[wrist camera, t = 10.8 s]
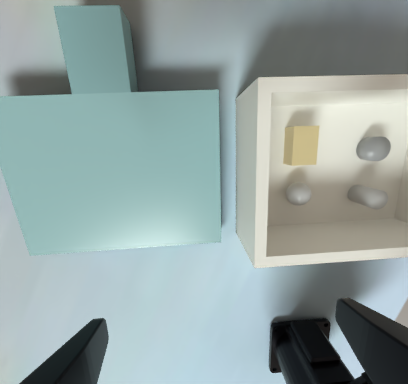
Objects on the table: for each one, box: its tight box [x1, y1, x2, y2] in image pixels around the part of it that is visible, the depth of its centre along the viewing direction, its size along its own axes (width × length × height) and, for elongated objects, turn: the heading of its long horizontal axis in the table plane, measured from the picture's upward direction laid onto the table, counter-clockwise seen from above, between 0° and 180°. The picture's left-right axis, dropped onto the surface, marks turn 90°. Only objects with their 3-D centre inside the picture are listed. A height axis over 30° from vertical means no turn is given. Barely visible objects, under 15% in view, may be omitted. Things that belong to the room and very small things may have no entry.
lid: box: [0, 5, 221, 256], centre depth 17 cm, size 17×16×2 cm
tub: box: [236, 74, 408, 268], centre depth 17 cm, size 12×16×6 cm
